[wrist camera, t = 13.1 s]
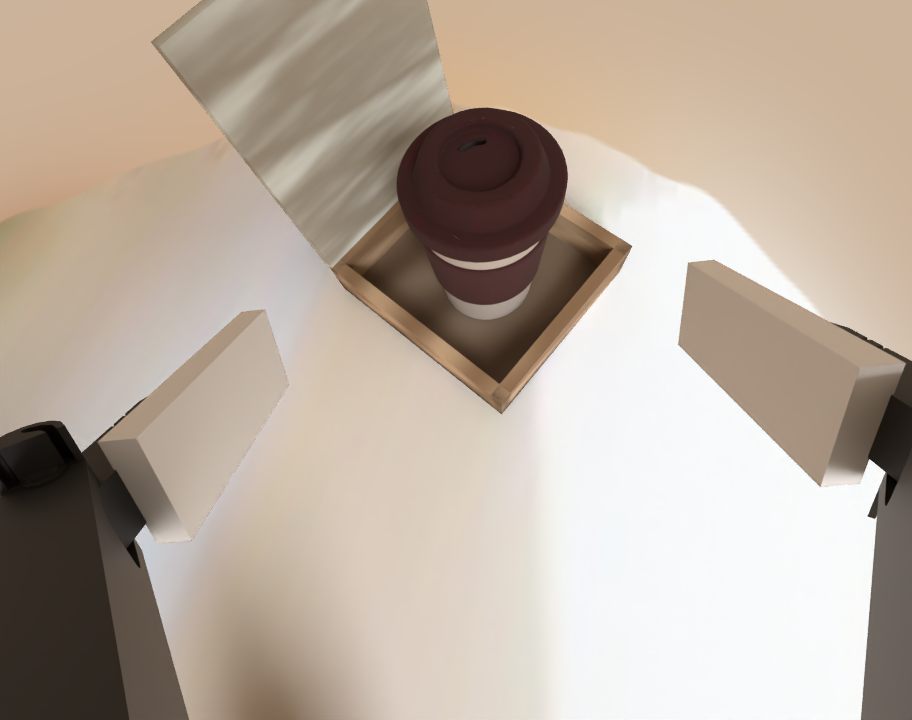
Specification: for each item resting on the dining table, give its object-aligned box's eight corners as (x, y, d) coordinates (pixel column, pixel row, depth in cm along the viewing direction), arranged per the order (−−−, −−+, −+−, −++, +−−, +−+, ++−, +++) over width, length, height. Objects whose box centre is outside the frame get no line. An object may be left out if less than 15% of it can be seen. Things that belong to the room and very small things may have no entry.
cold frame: (297, 250, 43) (106, 9, 22) (410, 138, 46) (335, -170, 25) (501, 414, 37) (502, 291, 16) (619, 272, 40) (752, 7, 19)
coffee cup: (530, 349, 37) (548, 250, 23) (414, 321, 39) (365, 213, 25) (557, 244, 40) (589, 97, 26) (448, 222, 41) (420, 73, 27)
